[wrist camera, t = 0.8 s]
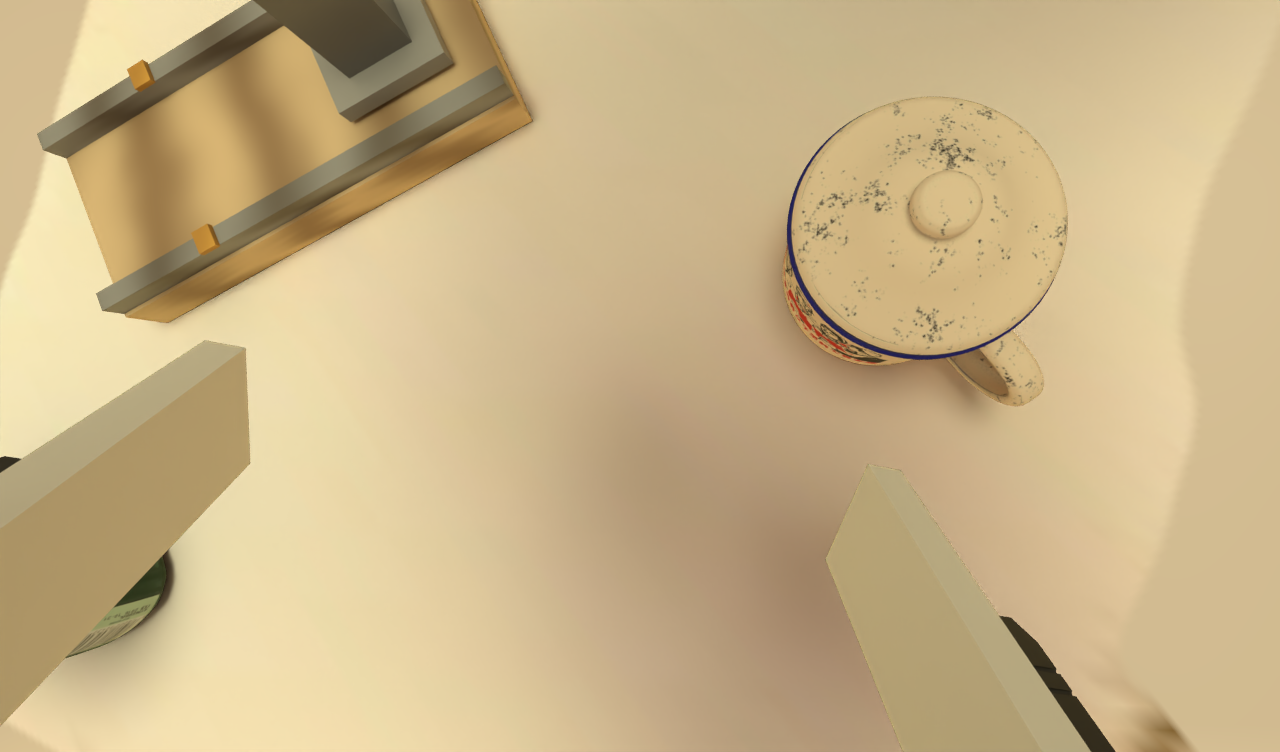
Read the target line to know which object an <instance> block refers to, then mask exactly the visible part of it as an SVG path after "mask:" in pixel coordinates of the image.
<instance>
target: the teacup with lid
mask: <svg viewBox="0 0 1280 752" xmlns="http://www.w3.org/2000/svg"><path fill="white" fill-rule="evenodd" d="M1067 229H1068V215H1067V205H1066V198H1065V194H1064V191H1063V187H1062V184H1061V181H1060V178H1059V176H1058V173H1057V171H1056V169H1055V167H1054V165H1053V163H1052V162H1051V160H1050V158H1049V157H1048V155H1047V154H1046V152H1045V151H1044V150H1043V148H1042V147H1041V146H1040V145H1039V143H1038V142H1037V141H1036V140H1035V139H1034V138H1033V137H1032V136H1031V135H1030V134H1029V133H1028V132H1027V131H1026V130H1025V129H1023V128H1022V127H1021V126H1020V125H1018V124H1017V123H1016V122H1014V121H1013V120H1011V119H1010V118H1008V117H1007V116H1005V115H1003V114H1001V113H999V112H997V111H995V110H993V109H991V108H988V107H986V106H983V105H981V104H977V103H974V102H971V101H967V100H962V99H956V98H948V97H920V98H912V99H906V100H901V101H897V102H893V103H890V104H887V105H884V106H881V107H878V108H876V109H874V110H871V111H869V112H867V113H865V114H863V115H861V116H859V117H857V118H856V119H854V120H852V121H851V122H849V123H848V124H846V125H845V126H843V127H842V128H841V129H839V130H838V131H837V132H836V133H835V134H833V135H832V136H831V137H830V138H829V139H828V140H827V141H826V142H825V143H824V144H823V145H822V146H821V147H820V148H819V149H818V151H817V152H816V153H815V154H814V156H813V157H812V158H811V160H810V161H809V163H808V164H807V166H806V168H805V169H804V171H803V173H802V175H801V177H800V179H799V181H798V183H797V186H796V188H795V191H794V193H793V197H792V200H791V204H790V209H789V214H788V223H787V248H786V252H785V257H784V262H783V272H782V278H783V289H784V294H785V299H786V302H787V305H788V308H789V310H790V312H791V314H792V316H793V318H794V320H795V321H796V323H797V324H798V326H799V327H800V329H801V330H802V331H803V332H804V333H805V335H806V336H807V337H808V338H809V339H810V340H811V341H813V342H814V343H815V344H816V345H817V346H819V347H820V348H821V349H823V350H825V351H826V352H828V353H830V354H832V355H834V356H836V357H838V358H840V359H843V360H846V361H849V362H853V363H857V364H863V365H874V366H876V365H892V364H897V363H902V362H906V361H910V360H914V359H915V360H929V359H940V358H946V359H947V360H948V361H949V362H950V363H951V364H952V366H953V367H954V368H955V369H956V370H957V371H958V372H959V373H960V374H961V375H962V376H963V377H964V378H965V379H966V380H967V381H968V382H969V383H971V384H972V385H973V386H974V387H976V388H977V389H978V390H980V391H981V392H982V393H984V394H985V395H987V396H989V397H990V398H992V399H994V400H996V401H998V402H1000V403H1003V404H1006V405H1010V406H1022V405H1024V404H1026V403H1028V402H1030V401H1031V400H1033V399H1034V398H1035V397H1037V396H1038V395H1039V394H1040V393H1041V392H1042V390H1043V387H1044V379H1043V376H1042V372H1041V370H1040V367H1039V365H1038V363H1037V362H1036V360H1035V358H1034V357H1033V355H1032V354H1031V352H1030V351H1029V350H1028V348H1027V347H1026V346H1025V345H1024V343H1023V342H1022V341H1021V340H1020V339H1019V338H1018V336H1017V335H1016V334H1015V333H1014V332H1013V331H1012V329H1014V328H1015V327H1016V326H1018V325H1019V324H1020V323H1021V322H1022V321H1023V320H1024V319H1025V318H1026V317H1027V316H1028V315H1029V314H1030V313H1031V312H1032V311H1033V310H1034V309H1035V308H1036V306H1037V305H1038V304H1039V303H1040V302H1041V300H1042V299H1043V297H1044V296H1045V294H1046V293H1047V291H1048V289H1049V288H1050V286H1051V284H1052V282H1053V280H1054V278H1055V276H1056V273H1057V271H1058V269H1059V266H1060V263H1061V260H1062V257H1063V254H1064V250H1065V245H1066V239H1067Z"/></svg>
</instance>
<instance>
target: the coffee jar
mask: <svg viewBox="0 0 1280 752" xmlns="http://www.w3.org/2000/svg"><path fill="white" fill-rule="evenodd" d="M165 581H166V568H165V563H164V560H163V557H161V558H160V559H159V560H158V561H157V562H156V563H155V564H154V565H153V566H152V567H151V568H150V569H149V570H148V571H147V572H146V573H145V574H144V576H143V577H142V578H141V579H140V580H139V581H138V582H137V583H136V584H135V585H134V586H133V587H132V588H131V589H130V590H129V591H128V592H127V593H126V594H125V596H124V597H123V598H122V599H121V600H120V601H119V602H118V603H117V604H116V605H115V606H114V607H113V608H112V609H111V610H110V611H109V612H108V613H107V614H106V616H105V617H104V618H103V619H102V620H101V621H100V622H99V623H98V624H97V625H96V626H95V627H94V628H93V629H92V630H91V631H90V632H89V633H88V634H87V636H86V637H85V638H84V639H83V640H82V641H81V642H80V643H79V644H78V645H77V646H76V647H75V648H74V649H73V650H72V651H71V652H70V653H69V654H68V656H67V657H66V658H68V657H71V656H74V655H77V654H80V653H83V652H86V651H89V650H92V649H94V648H97V647H100V646H102V645H105V644H107V643H109V642H111V641H113V640H115V639H117V638H119V637H120V636H122V635H124V634H125V633H127V632H128V631H130V630H131V629H133V628H134V627H135V626H136V625H138V624H139V623H140V622H141V621H142V620H143V619H144V618H145V617H146V616H147V615H148V614H149V613H150V612H151V611H152V610H153V608H154V607H155V606H156V604H157V603H158V601H159V599H160V597H161V595H162V592H163V589H164V584H165Z"/></svg>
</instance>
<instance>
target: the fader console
mask: <svg viewBox="0 0 1280 752" xmlns="http://www.w3.org/2000/svg"><path fill="white" fill-rule="evenodd" d="M425 2H426V4H427V6H428V8H429V11H430V13H431V15H432V17H433V19H434V22H435V24H436V26H437V28H438V30H439V33H440V35H441V37H442V39H443V41H444V44H445V46H446V48H447V50H448V52H449V55H450V57H451V59H452V61H453V64H451V65H450V66H448V67H446V68H444V69H443V70H441V71H439V72H438V73H436V74H434V75H432V76H431V77H429V78H427V79H425V80H424V81H422V82H420V83H419V84H417V85H415V86H413V87H412V88H410V89H408V90H406V91H405V92H403V93H401V94H399V95H398V96H396V97H394V98H393V99H391V100H389V101H387V102H386V103H384V104H382V105H380V106H379V107H377V108H375V109H374V110H372V111H370V112H368V113H367V114H365V115H363V116H361V117H360V118H358V119H356V120H355V121H353V122H350V121H349V120H347V119H346V118H344V117H343V116H342V115H340V114H339V113H338V110H337V108H336V106H335V103H334V101H333V99H332V96H331V94H330V92H329V89H328V87H327V85H326V82H325V80H324V78H323V76H322V73H321V71H320V69H319V66H318V64H317V62H316V59H315V57H314V55H313V52H312V50H311V48H310V46H309V45H307V44H306V43H305V42H304V41H302V40H301V39H300V38H299V37H297V36H296V35H295V34H294V33H293V32H291V31H290V30H289V29H288V28H286V27H285V26H284V25H283V24H281V23H280V22H279V21H278V20H277V19H275V18H274V17H273V16H272V15H270V14H269V13H268V12H267V11H265V10H264V9H263V8H262V7H260V6H259V5H258V4H257V3H256V2H254V1H253V0H251V1H249V2H248V3H246V4H245V5H243V6H241V7H240V8H238V9H237V10H235V11H233V12H232V13H230V14H229V15H227V16H225V17H224V18H222V19H221V20H219V21H217V22H216V23H214V24H213V25H211V26H209V27H208V28H206V29H205V30H203V31H201V32H200V33H198V34H197V35H195V36H193V37H192V38H190V39H189V40H187V41H185V42H184V43H182V44H180V45H179V46H177V47H176V48H174V49H172V50H171V51H169V52H168V53H166V54H164V55H163V56H161V57H160V58H158V59H156V60H155V61H153V62H152V63H150V64H148V63H147V62H145V61H144V60H141V61H140V62H138V63H137V64H135V65H133V66H132V67H130V68H129V69H127V71H128V73H129V77H128V78H126V79H124V80H123V81H121V82H120V83H118V84H116V85H115V86H113V87H112V88H110V89H108V90H107V91H105V92H103V93H102V94H100V95H99V96H97V97H95V98H94V99H92V100H91V101H89V102H87V103H86V104H84V105H83V106H81V107H79V108H78V109H76V110H75V111H73V112H71V113H70V114H68V115H67V116H65V117H63V118H62V119H60V120H59V121H57V122H55V123H54V124H52V125H51V126H49V127H47V128H46V129H44V130H43V131H41V132H39V133H38V134H37V135H38V137H39V140H40V143H41V145H42V148H43V150H44V151H47V152H50V153H53V154H56V155H58V156H61V157H64V158H67V161H68V163H69V166H70V169H71V172H72V174H73V177H74V180H75V182H76V185H77V188H78V190H79V193H80V196H81V198H82V201H83V204H84V206H85V209H86V212H87V214H88V217H89V220H90V222H91V225H92V228H93V231H94V233H95V236H96V239H97V241H98V244H99V247H100V249H101V252H102V255H103V257H104V260H105V263H106V265H107V268H108V271H109V273H110V276H111V279H112V281H113V284H112V285H110V286H109V287H107V288H105V289H103V290H102V291H100V292H98V293H96V295H97V297H98V300H99V303H100V306H101V308H102V311H107V312H114V313H121V314H125V316H126V317H127V318H135V319H142V320H149V321H157V322H164V323H168V322H170V321H172V320H174V319H175V318H177V317H179V316H181V315H183V314H184V313H186V312H188V311H190V310H192V309H194V308H195V307H197V306H199V305H201V304H203V303H204V302H206V301H208V300H210V299H212V298H213V297H215V296H217V295H219V294H221V293H222V292H224V291H226V290H228V289H230V288H231V287H233V286H235V285H237V284H239V283H240V282H242V281H244V280H246V279H248V278H250V277H251V276H253V275H255V274H257V273H259V272H260V271H262V270H264V269H266V268H268V267H269V266H271V265H273V264H275V263H277V262H278V261H280V260H282V259H284V258H286V257H287V256H289V255H291V254H293V253H295V252H297V251H298V250H300V249H302V248H304V247H306V246H307V245H309V244H311V243H313V242H315V241H316V240H318V239H320V238H322V237H324V236H325V235H327V234H329V233H331V232H333V231H334V230H336V229H338V228H340V227H342V226H343V225H345V224H347V223H349V222H351V221H353V220H354V219H356V218H358V217H360V216H362V215H363V214H365V213H367V212H369V211H371V210H372V209H374V208H376V207H378V206H380V205H381V204H383V203H385V202H387V201H389V200H390V199H392V198H394V197H396V196H398V195H399V194H401V193H403V192H405V191H407V190H409V189H410V188H412V187H414V186H416V185H418V184H419V183H421V182H423V181H425V180H427V179H428V178H430V177H432V176H434V175H436V174H437V173H439V172H441V171H443V170H445V169H446V168H448V167H450V166H452V165H454V164H456V163H457V162H459V161H461V160H463V159H465V158H466V157H468V156H470V155H472V154H474V153H475V152H477V151H479V150H481V149H483V148H484V147H486V146H488V145H490V144H492V143H493V142H495V141H497V140H499V139H501V138H502V137H504V136H506V135H508V134H510V133H512V132H513V131H515V130H517V129H519V128H521V127H522V126H524V125H526V124H528V123H530V122H531V121H532V119H531V117H530V114H529V112H528V110H527V108H526V106H525V104H524V102H523V99H522V97H521V95H520V93H519V91H518V89H517V87H516V84H515V82H514V80H513V78H512V76H511V74H510V71H509V69H508V67H507V65H506V63H505V61H504V59H503V56H502V54H501V52H500V50H499V48H498V46H497V44H496V41H495V39H494V37H493V35H492V33H491V31H490V28H489V26H488V24H487V22H486V20H485V18H484V16H483V13H482V11H481V9H480V7H479V5H478V3H477V1H476V0H425Z"/></svg>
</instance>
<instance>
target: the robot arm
mask: <svg viewBox="0 0 1280 752" xmlns="http://www.w3.org/2000/svg"><path fill="white" fill-rule="evenodd" d="M249 464H250V443H249V419H248V395H247V371H246V348H243V347H238V346H232V345H227V344H222V343H216V342H211V341H203V342H202V343H200V344H198V345H197V346H195V347H194V348H192V349H191V350H189V351H188V352H186V353H185V354H183V355H182V356H180V357H178V358H177V359H175V360H174V361H172V362H171V363H169V364H168V365H166V366H165V367H163V368H161V369H160V370H158V371H157V372H155V373H154V374H152V375H151V376H149V377H148V378H146V379H144V380H143V381H141V382H140V383H138V384H137V385H135V386H134V387H132V388H131V389H129V390H128V391H126V392H124V393H123V394H121V395H120V396H118V397H117V398H115V399H114V400H112V401H111V402H109V403H107V404H106V405H104V406H103V407H101V408H100V409H98V410H97V411H95V412H94V413H92V414H90V415H89V416H87V417H86V418H84V419H83V420H81V421H80V422H78V423H77V424H75V425H74V426H72V427H70V428H69V429H67V430H66V431H64V432H63V433H61V434H60V435H58V436H57V437H55V438H53V439H52V440H50V441H49V442H47V443H46V444H44V445H43V446H41V447H40V448H38V449H36V450H35V451H33V452H32V453H30V454H29V455H27V456H26V457H24V458H23V459H19V458H12V457H6V456H4V457H1V458H0V726H1V725H2V724H3V723H4V722H5V721H6V720H7V719H8V718H9V717H10V715H11V714H12V713H13V712H14V711H15V710H16V709H17V708H18V707H19V706H20V705H21V704H22V703H23V702H24V701H25V700H26V699H27V698H28V697H29V695H30V694H31V693H32V692H33V691H34V690H35V689H36V688H37V687H38V686H39V685H40V684H41V683H42V682H43V681H44V680H45V679H46V678H47V677H48V675H49V674H50V673H51V672H52V671H53V670H54V669H55V668H56V667H57V666H58V665H59V664H60V663H61V662H62V661H63V660H64V659H65V658H66V657H67V656H68V654H69V653H70V652H71V651H72V650H73V649H74V648H75V647H76V646H77V645H78V644H79V643H80V642H81V641H82V640H83V639H84V638H85V637H86V636H87V634H88V633H89V632H90V631H91V630H92V629H93V628H94V627H95V626H96V625H97V624H98V623H99V622H100V621H101V620H102V619H103V618H104V617H105V616H106V614H107V613H108V612H109V611H110V610H111V609H112V608H113V607H114V606H115V605H116V604H117V603H118V602H119V601H120V600H121V599H122V598H123V597H124V596H125V594H126V593H127V592H128V591H129V590H130V589H131V588H132V587H133V586H134V585H135V584H136V583H137V582H138V581H139V580H140V579H141V578H142V577H143V576H144V574H145V573H146V572H147V571H148V570H149V569H150V568H151V567H152V566H153V565H154V564H155V563H156V562H157V561H158V560H159V559H160V558H161V557H162V556H163V554H164V553H165V552H166V551H167V550H168V549H169V548H170V547H171V546H172V545H173V544H174V543H175V542H176V541H177V540H178V539H179V538H180V537H181V536H182V535H183V533H184V532H185V531H186V530H187V529H188V528H189V527H190V526H191V525H192V524H193V523H194V522H195V521H196V520H197V519H198V518H199V517H200V516H201V515H202V513H203V512H204V511H205V510H206V509H207V508H208V507H209V506H210V505H211V504H212V503H213V502H214V501H215V500H216V499H217V498H218V497H219V496H220V495H221V493H222V492H223V491H224V490H225V489H226V488H227V487H228V486H229V485H230V484H231V483H232V482H233V481H234V480H235V479H236V478H237V477H238V476H239V475H240V473H241V472H242V471H243V470H244V469H245V468H246V467H247V466H248V465H249ZM825 560H826V562H827V565H828V567H829V570H830V572H831V575H832V577H833V580H834V582H835V585H836V587H837V590H838V592H839V595H840V597H841V600H842V602H843V605H844V607H845V610H846V612H847V615H848V617H849V620H850V622H851V625H852V627H853V629H854V632H855V634H856V637H857V639H858V642H859V644H860V647H861V649H862V652H863V654H864V657H865V659H866V662H867V664H868V667H869V669H870V672H871V674H872V677H873V679H874V682H875V684H876V687H877V689H878V692H879V694H880V697H881V699H882V702H883V704H884V707H885V709H886V712H887V714H888V716H889V719H890V721H891V724H892V726H893V729H894V731H895V734H896V736H897V739H898V741H899V744H900V746H901V749H902V751H903V752H1115V750H1114V749H1113V748H1112V746H1111V745H1110V743H1109V742H1108V741H1107V739H1106V738H1105V736H1104V735H1103V734H1102V732H1101V731H1100V729H1099V728H1098V727H1097V725H1096V724H1095V722H1094V721H1093V719H1092V718H1091V717H1090V715H1089V714H1088V712H1087V711H1086V710H1085V708H1084V707H1083V705H1082V704H1081V703H1080V701H1079V700H1078V698H1077V697H1076V696H1072V690H1071V689H1070V687H1069V686H1068V684H1067V683H1066V682H1065V680H1064V679H1063V677H1062V676H1061V675H1060V674H1057V673H1056V668H1055V666H1054V665H1053V663H1052V662H1051V661H1050V659H1049V658H1048V656H1047V655H1046V654H1045V652H1044V651H1043V649H1042V648H1041V647H1040V645H1039V644H1038V642H1037V641H1036V640H1034V639H1033V638H1032V637H1031V636H1030V635H1029V634H1028V633H1027V632H1026V631H1025V630H1024V629H1022V628H1021V627H1020V626H1019V625H1018V624H1017V623H1016V622H1015V621H1014V620H1013V619H1012V618H1009V617H1003V616H999V615H998V614H997V612H996V611H995V609H994V608H993V606H992V605H991V603H990V602H989V600H988V599H987V597H986V596H985V594H984V593H983V591H982V590H981V589H980V587H979V586H978V584H977V583H976V581H975V580H974V578H973V577H972V575H971V574H970V572H969V571H968V569H967V568H966V566H965V565H964V563H963V562H962V560H961V559H960V558H959V556H958V555H957V553H956V552H955V550H954V549H953V547H952V546H951V544H950V543H949V541H948V540H947V538H946V537H945V535H944V534H943V532H942V531H941V529H940V528H939V526H938V525H937V524H936V522H935V521H934V519H933V518H932V516H931V515H930V513H929V512H928V510H927V509H926V507H925V506H924V504H923V503H922V501H921V500H920V498H919V497H918V495H917V494H916V493H915V491H914V490H913V488H912V487H911V485H910V484H909V482H908V481H907V479H906V478H905V476H904V475H903V473H902V472H901V470H897V469H892V468H886V467H881V466H875V465H870V464H868V465H867V467H866V470H865V472H864V474H863V476H862V479H861V481H860V483H859V485H858V487H857V490H856V492H855V494H854V496H853V499H852V501H851V503H850V505H849V508H848V510H847V512H846V514H845V517H844V519H843V521H842V523H841V526H840V528H839V530H838V532H837V535H836V537H835V539H834V541H833V544H832V546H831V548H830V550H829V553H828V555H827V557H826V559H825Z"/></svg>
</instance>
